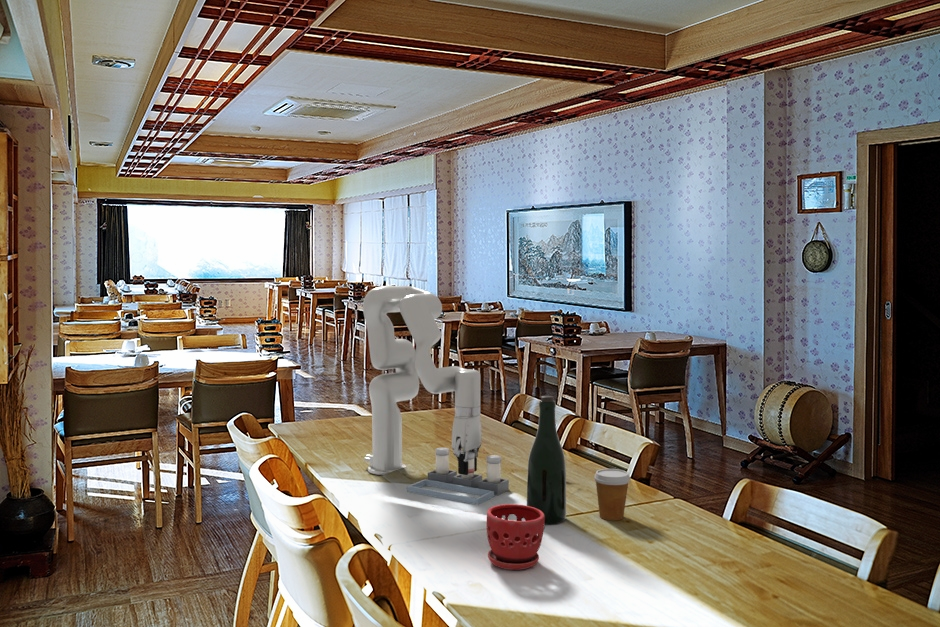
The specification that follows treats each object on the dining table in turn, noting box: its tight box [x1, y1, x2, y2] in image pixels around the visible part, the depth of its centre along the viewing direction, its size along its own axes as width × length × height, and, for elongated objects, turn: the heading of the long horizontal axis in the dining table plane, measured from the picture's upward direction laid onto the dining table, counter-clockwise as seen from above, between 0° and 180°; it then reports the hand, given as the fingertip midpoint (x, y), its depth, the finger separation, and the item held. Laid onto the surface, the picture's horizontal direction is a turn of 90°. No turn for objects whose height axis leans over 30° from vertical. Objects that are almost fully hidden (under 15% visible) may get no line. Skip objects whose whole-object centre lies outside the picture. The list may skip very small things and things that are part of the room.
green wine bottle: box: [526, 395, 567, 525], centre depth 215 cm, size 10×10×33 cm
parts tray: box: [406, 478, 495, 506], centre depth 234 cm, size 24×9×3 cm, turn 58°
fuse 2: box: [486, 454, 502, 484], centre depth 237 cm, size 4×4×10 cm
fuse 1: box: [434, 447, 450, 475], centre depth 247 cm, size 4×4×10 cm
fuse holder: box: [427, 469, 511, 497], centre depth 242 cm, size 25×8×4 cm, turn 58°
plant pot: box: [485, 503, 545, 571], centre depth 185 cm, size 13×13×12 cm
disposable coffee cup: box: [593, 468, 631, 521], centre depth 218 cm, size 10×10×12 cm
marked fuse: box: [461, 451, 475, 479], centre depth 242 cm, size 4×4×10 cm
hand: (467, 471), depth 242 cm, fingers closed on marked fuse, 4 cm apart
